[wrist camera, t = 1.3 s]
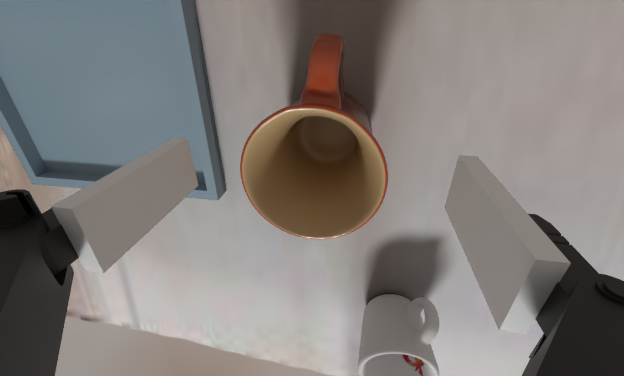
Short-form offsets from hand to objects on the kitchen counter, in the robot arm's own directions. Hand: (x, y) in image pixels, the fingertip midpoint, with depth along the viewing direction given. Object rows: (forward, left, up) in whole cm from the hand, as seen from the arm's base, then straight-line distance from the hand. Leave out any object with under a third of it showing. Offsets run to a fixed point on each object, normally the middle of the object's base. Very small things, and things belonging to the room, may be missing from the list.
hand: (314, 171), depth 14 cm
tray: (-22, 0, -12) cm, 25 cm away
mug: (0, 0, -13) cm, 13 cm away
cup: (+9, -23, -13) cm, 28 cm away
